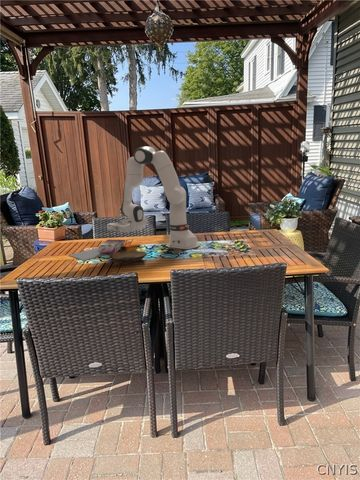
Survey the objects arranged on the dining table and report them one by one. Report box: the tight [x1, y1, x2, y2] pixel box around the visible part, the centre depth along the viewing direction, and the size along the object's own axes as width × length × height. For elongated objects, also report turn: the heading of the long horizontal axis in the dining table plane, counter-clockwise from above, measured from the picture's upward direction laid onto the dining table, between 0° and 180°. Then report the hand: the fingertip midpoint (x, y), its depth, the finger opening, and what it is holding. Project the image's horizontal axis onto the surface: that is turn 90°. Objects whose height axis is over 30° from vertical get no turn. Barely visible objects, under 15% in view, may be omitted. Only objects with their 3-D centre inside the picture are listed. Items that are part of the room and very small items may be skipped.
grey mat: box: [68, 247, 118, 261], centre depth 235 cm, size 20×24×2 cm
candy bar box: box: [98, 239, 125, 253], centre depth 236 cm, size 11×5×16 cm
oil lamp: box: [107, 243, 148, 264], centre depth 213 cm, size 22×30×8 cm
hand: (108, 229), depth 240 cm, fingers closed
